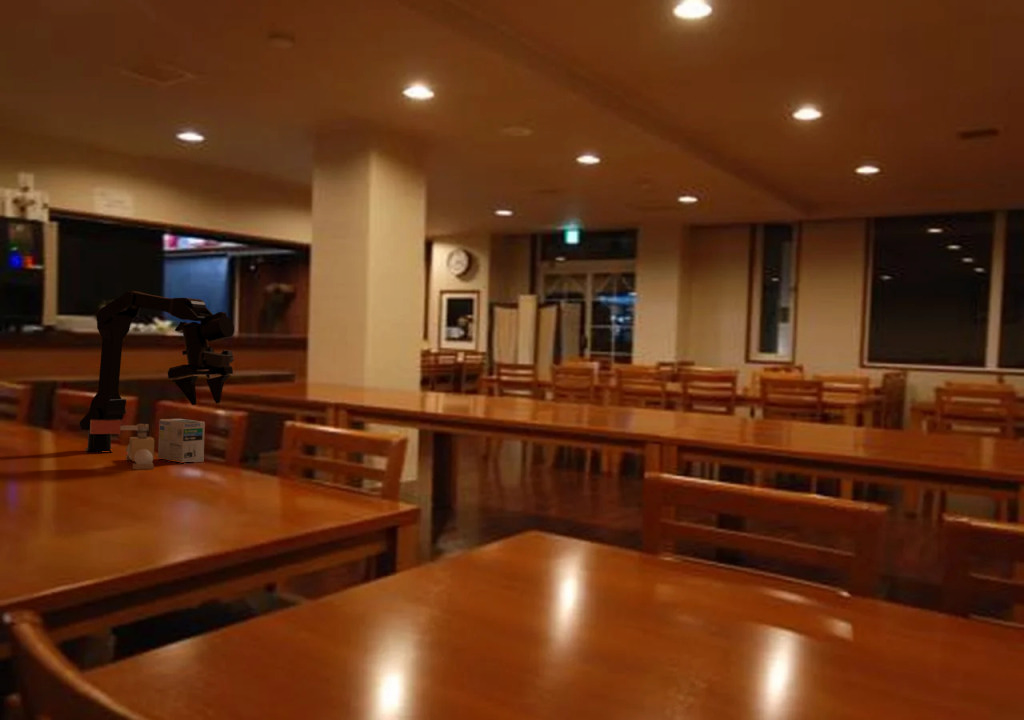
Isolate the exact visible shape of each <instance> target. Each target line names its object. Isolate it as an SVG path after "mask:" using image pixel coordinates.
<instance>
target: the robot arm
mask: <svg viewBox="0 0 1024 720" xmlns="http://www.w3.org/2000/svg"><path fill="white" fill-rule="evenodd" d="M142 308H143V309H144V308H145V309H150V310H154V311H158V312H159V311H160V312H165V313H168V314H169V315H170V316H172V317H174V318H176V319H179V320H183V321H179V323H178V325H176V327H175V329H174V331H175V332H182V337H183V343H184V348H185V350H182V351H181V352H182V356H186V359H187V364H181V365H176V366H173V367H169V368H168V369H167V372H166V373H167V379H168V380H172V383H174V384H175V385H176V386H177V387H178V388H179V390H180V391H181V393H183V394H184V396H185V397H186V399H187V400H188V402H190V404H191V405H192V406H195V405H197V392H196V391H197V390H196V382H197V380H198V378H199V376H206V377H207V379H206V378H205V379H206V383H207V386H208V388H209V391H210V393H211V395H212V399H213V401H214V402H215V404H220V403H221V400H222V396H223V395H222V394H223V387H224V384H225V382H226V381H227V380H228V378H230V377H231V375H234V371H233V370H234V369H233V367H232V366H231V365H230V364H232V363H233V362H235V361H234V360H235V358H234V354H233V351H232V350H228V349H227V350H226V349H224V350H222V352H215V349H214V348H213V347H212V346H209V345H210V344H209V342H215V341H220V340H224V339H227V338H228V339H229V338H231V337H232V336H233V335H234V333H235V325H234V323H233V322H232V320H231V319H230V317H229V316H228V315H227V312H225V311H219V312H216V313H214V314H213V312H212V311H210V310H209V309H208V308H207V305H206V303H205V300H203V299H199V298H190V297H171V298H170V297H165V296H164V297H163V296H161V295H160V296H159V295H154V294H149V293H145V292H142V291H135V290H128V291H126V292H124V293H123V294H122V295H121V296H120V297H118V298H116V299H113V300H112V301H110V302H108V303H107V304H106V305H105V306H103V307H100V309H99V310H98V311H97V312H96V329H97V330H98V333H99V335H100V336H101V350H100V352H101V353H100V365H99V376H98V391H97V392H96V394H95V395H94V397H93V398H92V400H91V402H90V404H89V405H90V406H89V411H88V412H87V413H86V414H85V416H83V417H82V419H81V420H80V421H79V427H80V429H81V430H83V431H88V432H87V447H85V448H84V451H85V450H86V451H85V452H86V453H87V452H99V453H103V452H102V451H111V450H110V449H111V448H112V434H90V421H91V420H121V421H122V420H123V418H124V416H125V414H127V412H126V405H127V399H126V398H122V397H121V394H120V393H119V391H120V390H119V386H120V377H121V376H120V374H121V363H122V351H123V341H124V339H125V338H126V336H127V334H128V333H129V331H130V329H131V325H132V321H133V320H134V319H135V318H137V317H138V316H139V314H140V311H141V309H142ZM184 320H185V321H184ZM186 321H191V322H186ZM199 322H200V323H199Z"/></svg>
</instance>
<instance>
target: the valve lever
mask: <svg viewBox="0 0 1024 720" xmlns="http://www.w3.org/2000/svg"><path fill="white" fill-rule="evenodd" d="M121 422H122V420H91V421H90V434H111V435H114V434H115V435H117V434H118V435H120V434H121V431H136V432H150V431H149V429H150V427H149V426H150V425H149V423H137V424H134V425H133V424H132V425H131V424H130V425H129V424H128V425H127V424H126V425H122V423H121Z"/></svg>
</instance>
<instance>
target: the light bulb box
mask: <svg viewBox="0 0 1024 720" xmlns="http://www.w3.org/2000/svg"><path fill="white" fill-rule="evenodd" d="M158 423H159V424H158V426H159V427H158V447H157V448H158V450H157V453H158V454H157V459H158V458H163V459H167V460H175V461H180V462H194V463H203V462H204V459H205V458H204V457H205V456H204V454H205V428H206V422H205V421H200V420H193V419H184V418H161V419H159V422H158Z"/></svg>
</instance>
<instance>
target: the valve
mask: <svg viewBox="0 0 1024 720" xmlns="http://www.w3.org/2000/svg"><path fill="white" fill-rule="evenodd" d="M147 432H148V431H137V436H129V444H128V445H127V446H126V452H127V454H126V455H125V460H126V459H127V460H134V461H133V463H132V469H133V470H134V469H136V470H154V469H155V465H154V463H153V461H154V456H155V453H154V452H155V438H153V437H152V436H148V435H147V434H148V433H147Z"/></svg>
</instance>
